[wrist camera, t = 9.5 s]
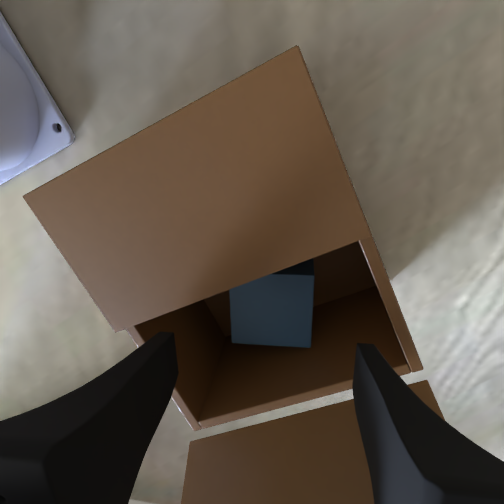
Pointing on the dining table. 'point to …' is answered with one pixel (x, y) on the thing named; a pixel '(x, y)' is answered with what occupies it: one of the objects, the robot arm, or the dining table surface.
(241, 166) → the carton
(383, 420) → the robot arm
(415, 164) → the dining table surface
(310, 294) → the block
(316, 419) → the flap
